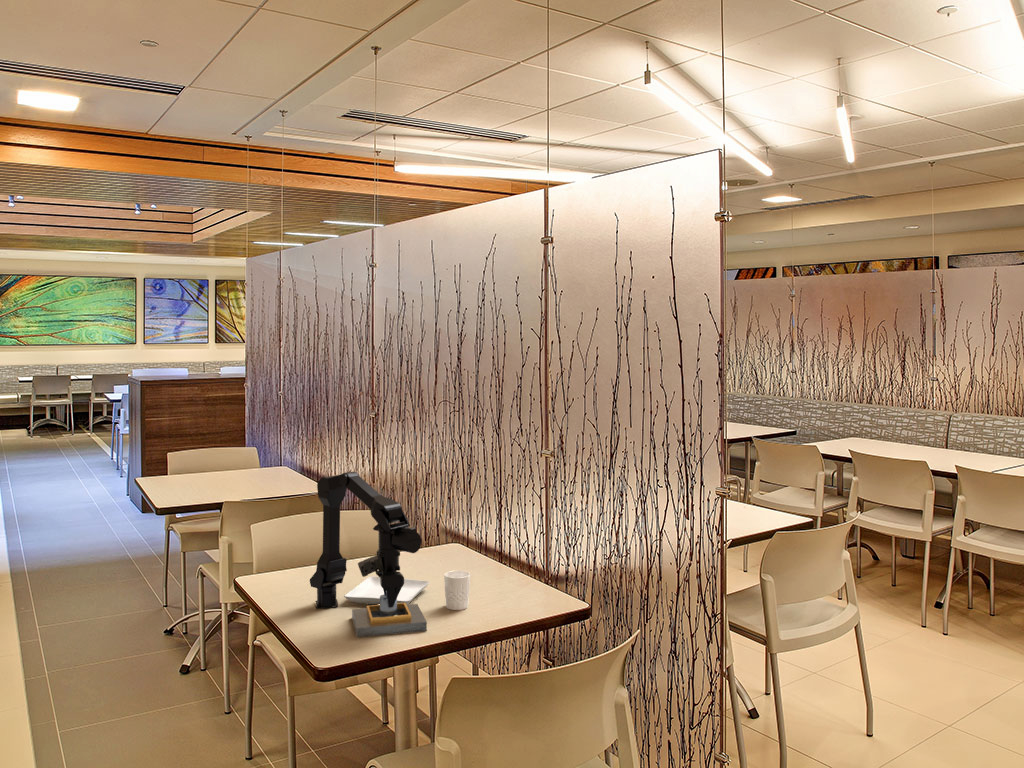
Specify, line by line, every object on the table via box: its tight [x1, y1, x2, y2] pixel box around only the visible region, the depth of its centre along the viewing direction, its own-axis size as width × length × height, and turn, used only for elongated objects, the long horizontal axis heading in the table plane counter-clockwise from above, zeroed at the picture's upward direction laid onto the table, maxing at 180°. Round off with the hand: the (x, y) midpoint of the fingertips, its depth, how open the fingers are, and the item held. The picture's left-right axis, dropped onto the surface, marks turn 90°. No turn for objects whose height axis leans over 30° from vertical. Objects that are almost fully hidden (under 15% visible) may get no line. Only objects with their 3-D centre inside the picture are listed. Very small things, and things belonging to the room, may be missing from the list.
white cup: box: [443, 570, 471, 611], centre depth 235 cm, size 8×8×10 cm
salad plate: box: [343, 576, 430, 605], centre depth 244 cm, size 21×21×3 cm
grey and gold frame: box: [351, 603, 428, 638], centre depth 219 cm, size 16×19×4 cm
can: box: [380, 594, 397, 617], centre depth 219 cm, size 5×5×8 cm
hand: (388, 602), depth 219 cm, fingers open, 9 cm apart
